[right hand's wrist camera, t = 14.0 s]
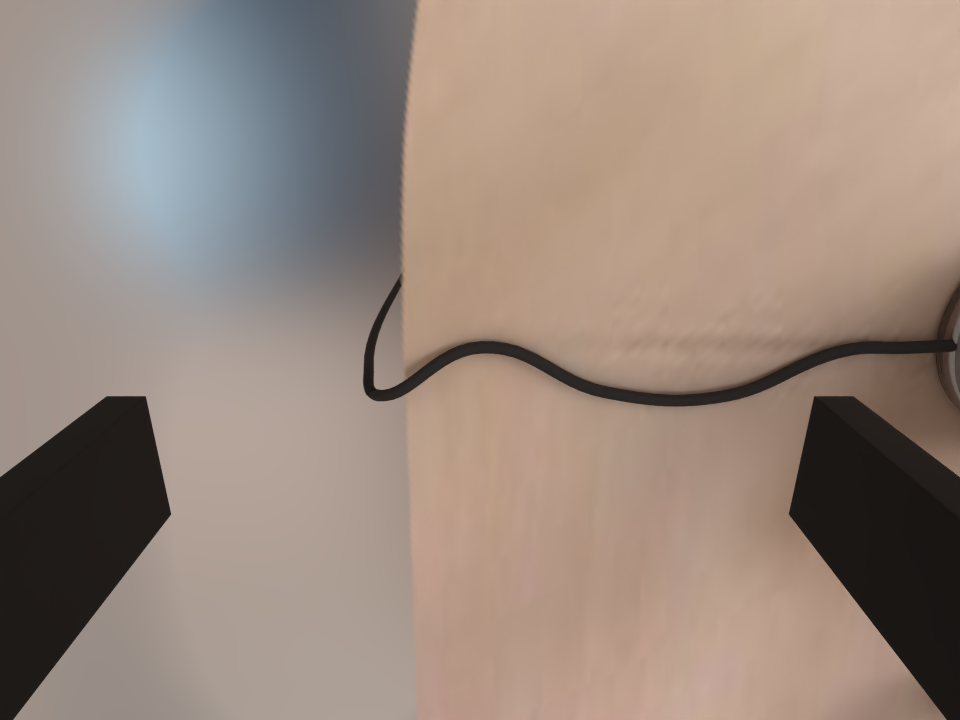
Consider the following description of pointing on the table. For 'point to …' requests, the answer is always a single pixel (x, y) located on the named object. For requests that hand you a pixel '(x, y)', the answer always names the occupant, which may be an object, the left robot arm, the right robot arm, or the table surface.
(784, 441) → the table surface
